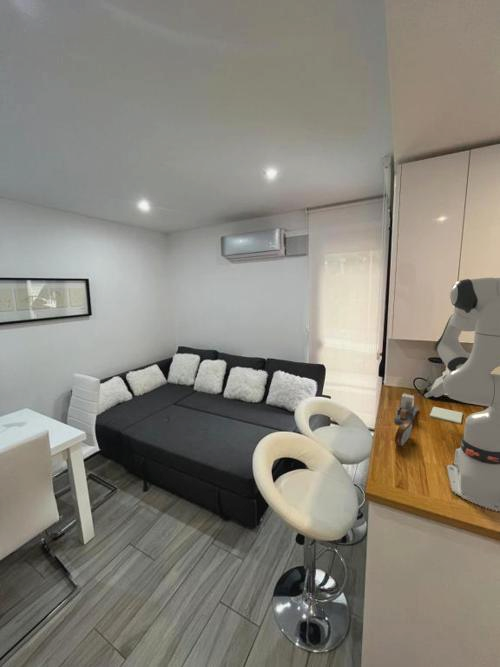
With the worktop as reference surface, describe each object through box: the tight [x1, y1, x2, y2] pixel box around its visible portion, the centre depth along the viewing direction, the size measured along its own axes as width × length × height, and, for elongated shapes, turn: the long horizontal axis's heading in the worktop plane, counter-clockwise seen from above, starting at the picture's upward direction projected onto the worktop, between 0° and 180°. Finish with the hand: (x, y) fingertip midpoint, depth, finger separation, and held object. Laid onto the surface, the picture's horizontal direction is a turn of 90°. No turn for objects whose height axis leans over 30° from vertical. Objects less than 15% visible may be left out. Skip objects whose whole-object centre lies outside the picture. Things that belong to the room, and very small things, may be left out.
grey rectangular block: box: [400, 393, 415, 414], centre depth 142 cm, size 4×5×9 cm
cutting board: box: [429, 406, 464, 425], centre depth 142 cm, size 13×13×1 cm
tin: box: [394, 420, 413, 447], centre depth 120 cm, size 15×3×8 cm, turn 133°
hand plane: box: [393, 404, 419, 425], centre depth 142 cm, size 22×7×6 cm, turn 139°
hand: (426, 393), depth 135 cm, fingers open, 8 cm apart
